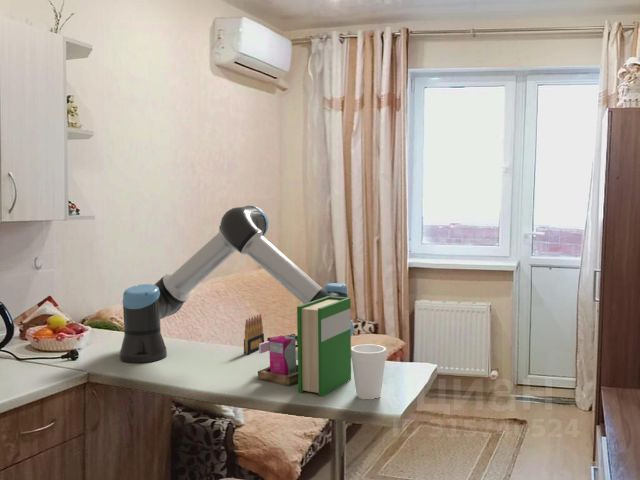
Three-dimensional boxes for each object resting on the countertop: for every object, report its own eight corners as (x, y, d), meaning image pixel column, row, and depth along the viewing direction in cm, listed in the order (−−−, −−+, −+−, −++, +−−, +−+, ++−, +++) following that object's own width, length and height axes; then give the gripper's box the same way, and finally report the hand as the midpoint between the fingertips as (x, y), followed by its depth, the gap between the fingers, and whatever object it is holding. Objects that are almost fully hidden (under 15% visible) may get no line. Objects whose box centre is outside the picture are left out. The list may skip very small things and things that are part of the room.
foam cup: (356, 389, 186) (355, 343, 185) (388, 391, 183) (388, 345, 182) (347, 400, 177) (347, 352, 176) (382, 403, 174) (382, 354, 173)
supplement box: (281, 371, 202) (281, 334, 201) (297, 375, 198) (296, 337, 197) (269, 376, 197) (268, 338, 196) (284, 380, 194) (284, 341, 192)
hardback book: (321, 396, 180) (321, 308, 178) (298, 392, 184) (297, 306, 181) (351, 379, 195) (350, 298, 193) (328, 375, 199) (327, 296, 197)
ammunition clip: (248, 355, 224) (247, 319, 223) (243, 354, 224) (242, 319, 223) (264, 347, 233) (263, 313, 232) (259, 347, 234) (259, 313, 233)
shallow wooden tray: (258, 379, 196) (257, 371, 196) (281, 370, 205) (281, 362, 205) (289, 386, 190) (288, 377, 189) (312, 376, 199) (312, 367, 199)
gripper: (353, 354, 205) (313, 371, 187) (288, 343, 219) (245, 358, 201) (353, 330, 204) (312, 344, 187) (288, 321, 218) (245, 333, 201)
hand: (277, 351), depth 194 cm, fingers open, 13 cm apart
